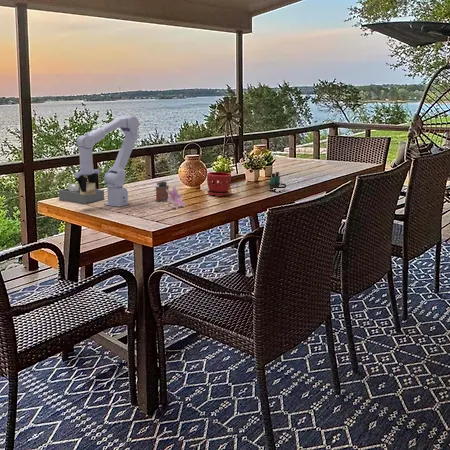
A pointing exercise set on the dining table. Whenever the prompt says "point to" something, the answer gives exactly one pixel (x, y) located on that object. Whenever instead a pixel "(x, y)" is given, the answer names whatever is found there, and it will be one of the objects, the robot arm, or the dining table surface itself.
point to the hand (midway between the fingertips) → (87, 190)
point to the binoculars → (275, 181)
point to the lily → (175, 197)
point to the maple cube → (89, 189)
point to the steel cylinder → (73, 188)
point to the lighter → (161, 191)
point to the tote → (80, 196)
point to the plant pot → (220, 187)
